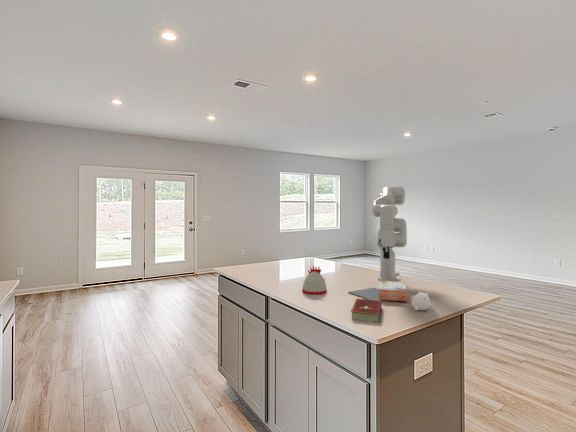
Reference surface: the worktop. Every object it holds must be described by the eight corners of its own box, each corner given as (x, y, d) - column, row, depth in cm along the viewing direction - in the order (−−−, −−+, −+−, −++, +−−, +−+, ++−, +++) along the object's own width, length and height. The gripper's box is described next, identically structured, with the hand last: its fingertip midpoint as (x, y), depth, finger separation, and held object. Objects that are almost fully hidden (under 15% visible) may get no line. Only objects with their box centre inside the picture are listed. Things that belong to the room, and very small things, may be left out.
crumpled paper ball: (420, 286, 160) (418, 291, 150) (440, 300, 156) (439, 306, 146) (410, 299, 162) (407, 305, 152) (429, 313, 158) (427, 320, 148)
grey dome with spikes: (325, 295, 178) (325, 268, 177) (300, 294, 181) (300, 267, 180) (327, 289, 191) (327, 264, 191) (304, 288, 194) (304, 263, 194)
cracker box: (379, 290, 187) (378, 300, 167) (379, 280, 187) (378, 288, 167) (404, 292, 183) (407, 302, 163) (404, 281, 183) (407, 290, 163)
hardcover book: (381, 308, 156) (381, 300, 156) (379, 323, 136) (379, 313, 136) (356, 306, 160) (356, 297, 160) (350, 320, 140) (350, 310, 140)
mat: (374, 288, 193) (374, 287, 193) (403, 297, 174) (403, 296, 174) (348, 292, 183) (348, 291, 183) (376, 302, 164) (376, 301, 164)
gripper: (391, 225, 191) (390, 256, 192) (372, 227, 184) (372, 258, 185) (401, 226, 185) (400, 258, 186) (381, 228, 178) (381, 261, 179)
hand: (386, 258), depth 186 cm, fingers closed
